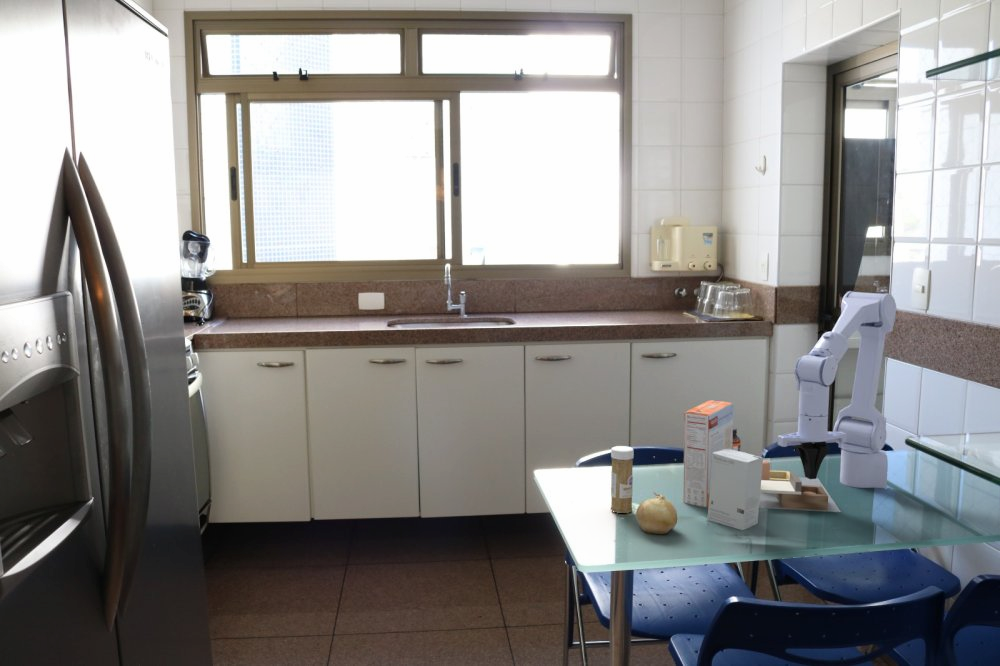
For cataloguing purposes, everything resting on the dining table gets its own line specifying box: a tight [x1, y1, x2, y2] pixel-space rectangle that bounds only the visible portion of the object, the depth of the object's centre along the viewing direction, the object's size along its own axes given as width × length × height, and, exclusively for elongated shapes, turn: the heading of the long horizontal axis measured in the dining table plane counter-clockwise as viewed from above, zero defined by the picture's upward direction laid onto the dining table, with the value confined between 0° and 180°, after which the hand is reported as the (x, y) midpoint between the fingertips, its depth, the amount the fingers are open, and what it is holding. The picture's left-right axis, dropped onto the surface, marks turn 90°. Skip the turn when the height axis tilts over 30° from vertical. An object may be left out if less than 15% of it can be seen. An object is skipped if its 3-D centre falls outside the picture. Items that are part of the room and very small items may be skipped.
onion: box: [635, 491, 679, 535], centre depth 165 cm, size 8×8×7 cm
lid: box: [760, 471, 802, 495], centre depth 177 cm, size 8×7×3 cm
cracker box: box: [682, 399, 734, 509], centre depth 181 cm, size 14×6×21 cm, turn 145°
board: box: [759, 469, 842, 513], centre depth 184 cm, size 16×23×3 cm
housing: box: [776, 485, 828, 511], centre depth 177 cm, size 9×7×3 cm
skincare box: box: [706, 449, 764, 531], centre depth 166 cm, size 8×6×15 cm
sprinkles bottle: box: [610, 445, 635, 514], centre depth 175 cm, size 5×5×14 cm
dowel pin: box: [761, 459, 771, 481], centre depth 186 cm, size 4×4×6 cm
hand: (810, 477), depth 176 cm, fingers closed
